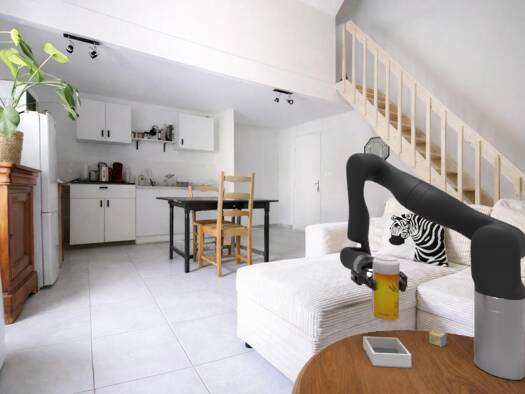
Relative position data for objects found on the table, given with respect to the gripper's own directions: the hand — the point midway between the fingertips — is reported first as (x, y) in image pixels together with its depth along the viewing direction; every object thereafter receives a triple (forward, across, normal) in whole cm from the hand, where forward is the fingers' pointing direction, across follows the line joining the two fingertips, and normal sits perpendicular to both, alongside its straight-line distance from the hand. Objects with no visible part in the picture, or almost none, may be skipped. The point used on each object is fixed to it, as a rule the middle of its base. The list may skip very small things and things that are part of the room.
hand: (389, 287), depth 70 cm
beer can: (-2, 0, +9) cm, 9 cm away
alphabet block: (-11, +17, +18) cm, 27 cm away
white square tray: (-2, 0, +18) cm, 18 cm away
